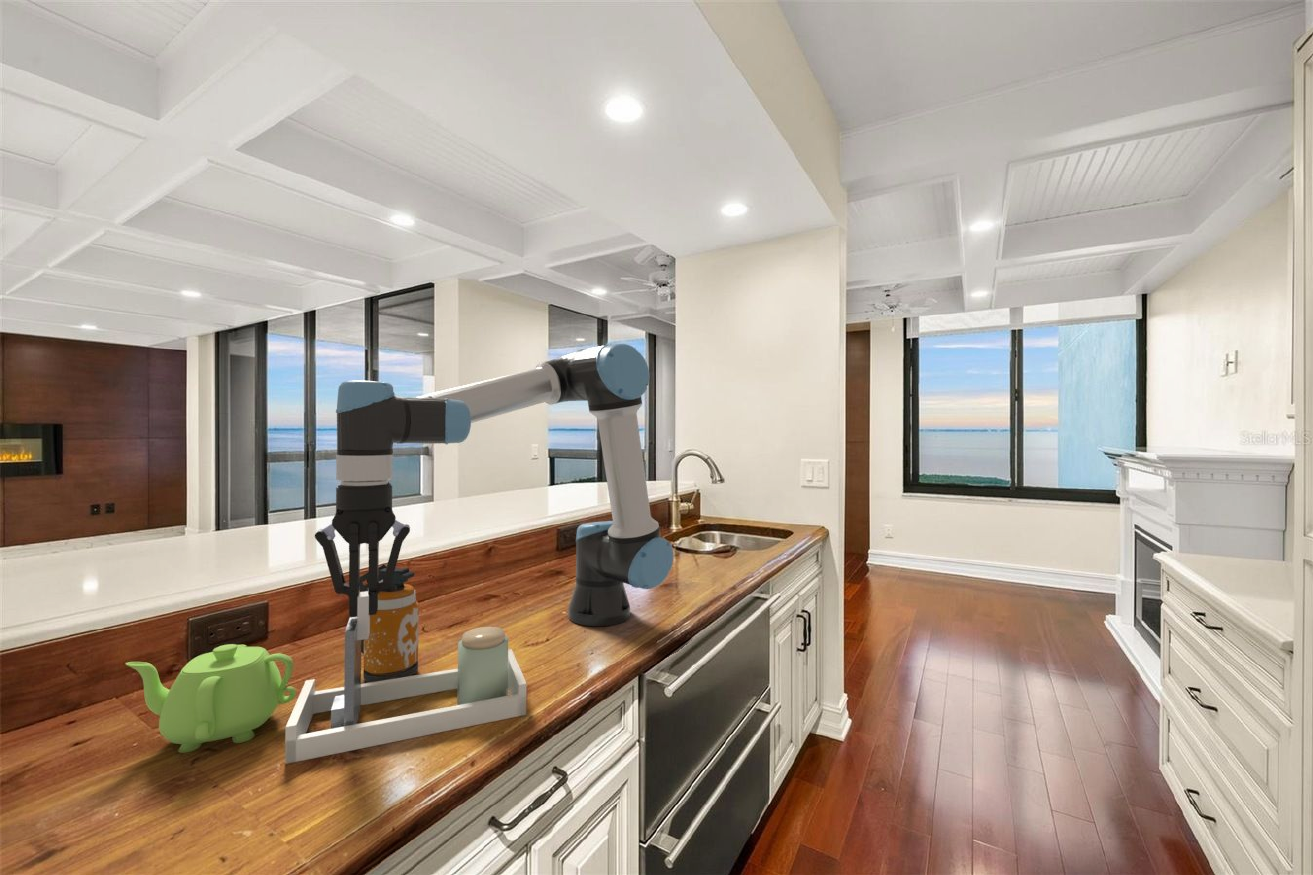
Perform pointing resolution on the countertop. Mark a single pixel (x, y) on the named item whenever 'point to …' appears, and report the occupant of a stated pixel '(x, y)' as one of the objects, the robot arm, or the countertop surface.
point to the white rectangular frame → (401, 726)
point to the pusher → (349, 681)
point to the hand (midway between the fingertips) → (363, 636)
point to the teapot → (218, 695)
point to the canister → (392, 630)
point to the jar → (482, 665)
